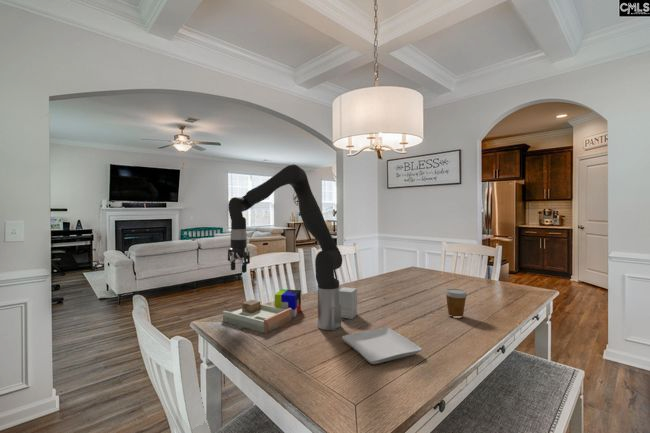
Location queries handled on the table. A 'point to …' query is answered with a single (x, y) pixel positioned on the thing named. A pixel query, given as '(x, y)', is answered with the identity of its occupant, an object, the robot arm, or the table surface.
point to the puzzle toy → (289, 300)
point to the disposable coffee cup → (455, 301)
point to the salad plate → (381, 345)
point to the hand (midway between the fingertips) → (238, 271)
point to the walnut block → (251, 306)
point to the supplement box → (348, 302)
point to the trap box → (260, 318)
